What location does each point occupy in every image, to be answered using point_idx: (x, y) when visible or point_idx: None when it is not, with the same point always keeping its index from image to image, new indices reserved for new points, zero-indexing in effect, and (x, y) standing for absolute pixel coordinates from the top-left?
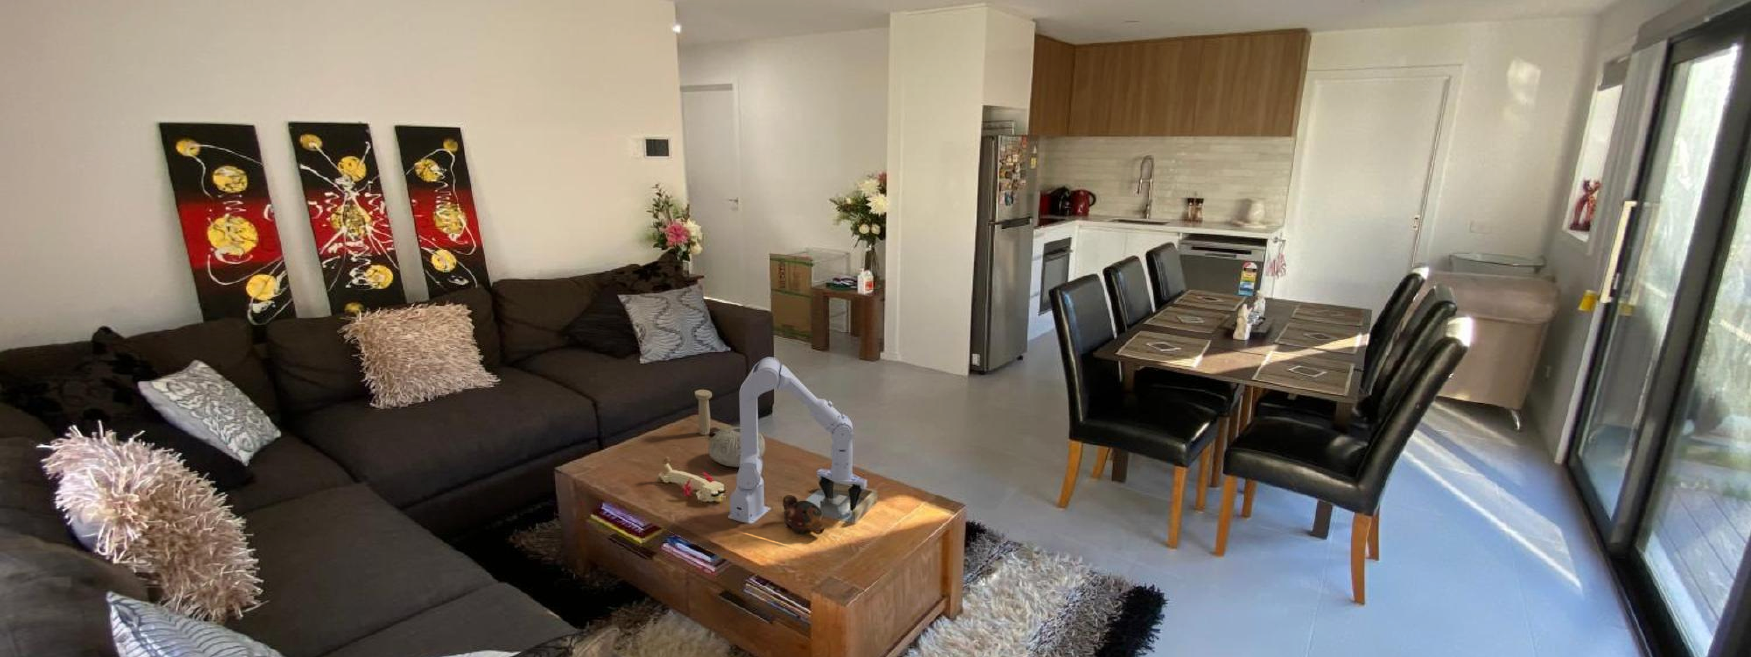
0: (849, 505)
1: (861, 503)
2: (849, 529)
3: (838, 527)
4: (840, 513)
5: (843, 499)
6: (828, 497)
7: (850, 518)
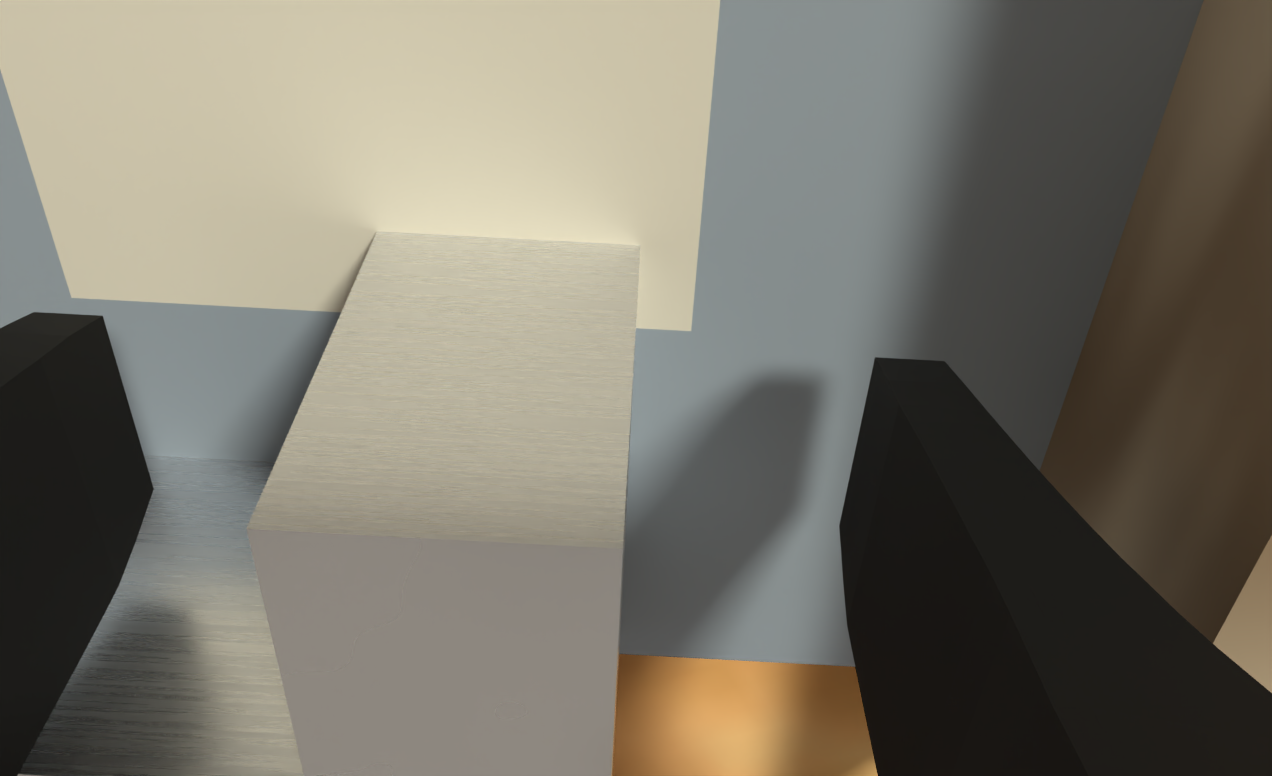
0: None
1: (1267, 640)
2: None
3: (746, 764)
4: (621, 606)
5: (584, 732)
6: (38, 707)
7: None
